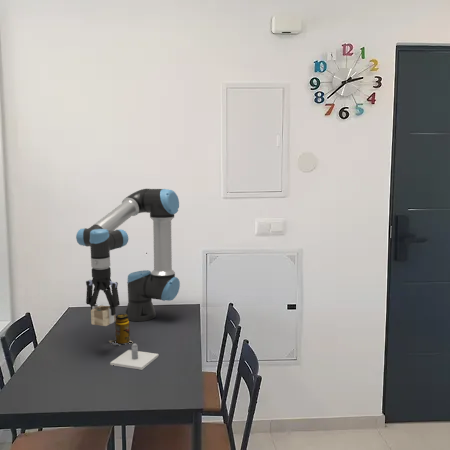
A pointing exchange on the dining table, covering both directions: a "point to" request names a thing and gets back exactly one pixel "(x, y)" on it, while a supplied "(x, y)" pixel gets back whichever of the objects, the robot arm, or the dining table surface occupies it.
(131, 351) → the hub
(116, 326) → the condiment
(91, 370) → the dining table surface
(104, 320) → the wooden hollow block
